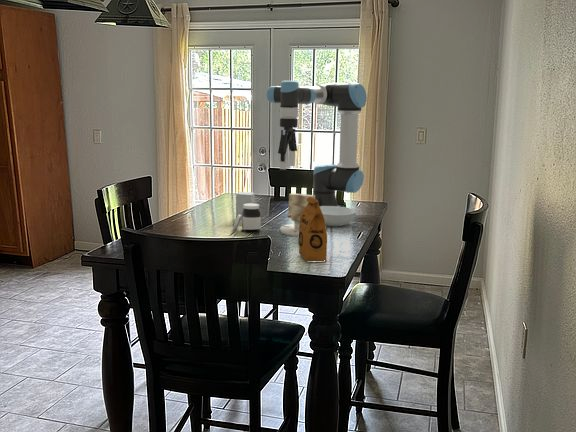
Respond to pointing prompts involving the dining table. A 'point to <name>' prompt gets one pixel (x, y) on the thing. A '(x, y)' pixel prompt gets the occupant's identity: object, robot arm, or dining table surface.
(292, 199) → the lever handle
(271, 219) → the dining table surface
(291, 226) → the dial plate
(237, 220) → the spread jar
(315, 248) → the coffee package
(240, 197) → the supplement box
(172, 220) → the dining table surface
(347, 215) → the serving bowl
